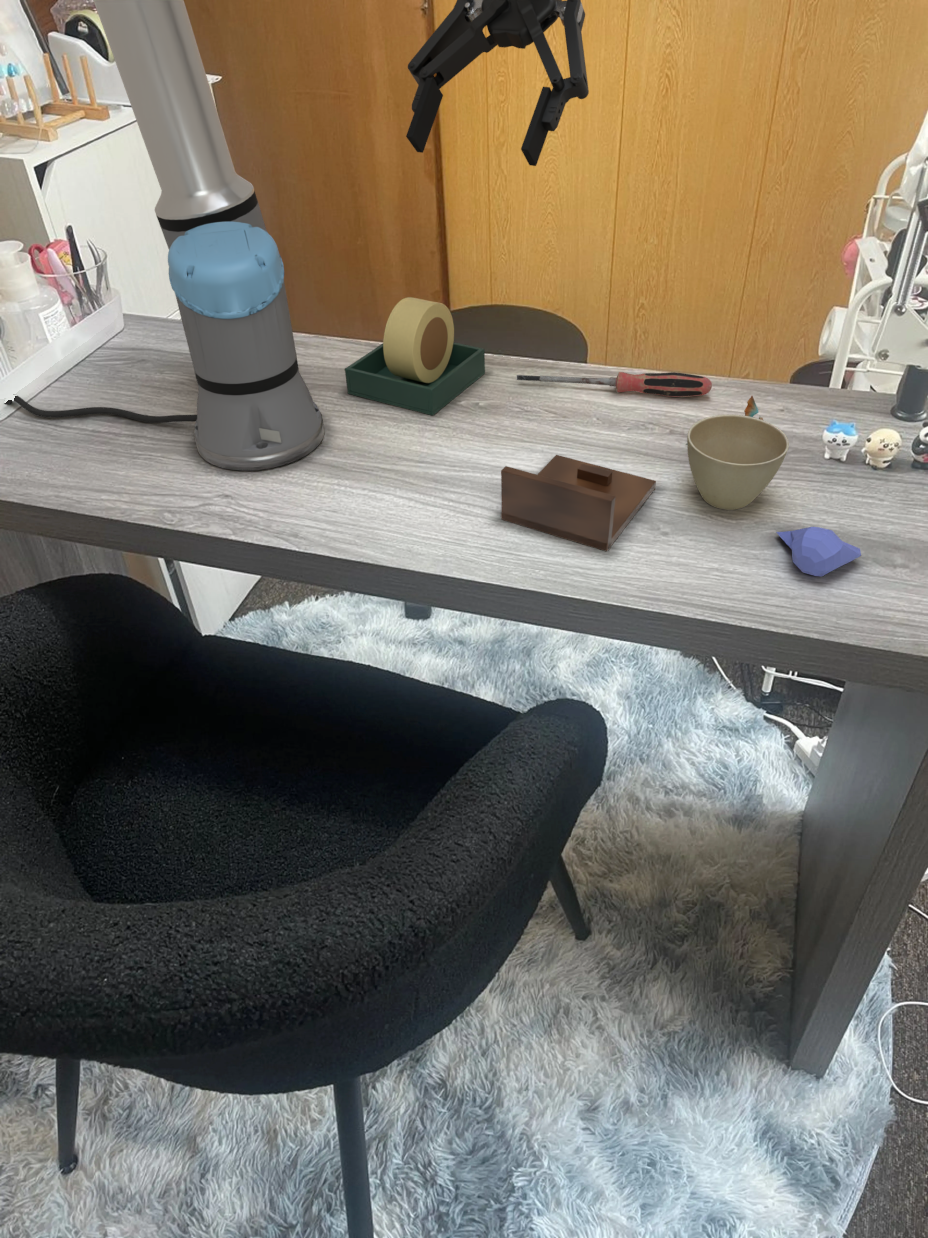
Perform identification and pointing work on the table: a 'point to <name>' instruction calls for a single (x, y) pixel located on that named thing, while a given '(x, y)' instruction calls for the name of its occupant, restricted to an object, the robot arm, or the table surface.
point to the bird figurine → (818, 550)
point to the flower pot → (734, 458)
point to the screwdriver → (642, 383)
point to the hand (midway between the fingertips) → (469, 151)
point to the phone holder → (574, 500)
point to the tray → (383, 386)
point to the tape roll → (418, 339)
